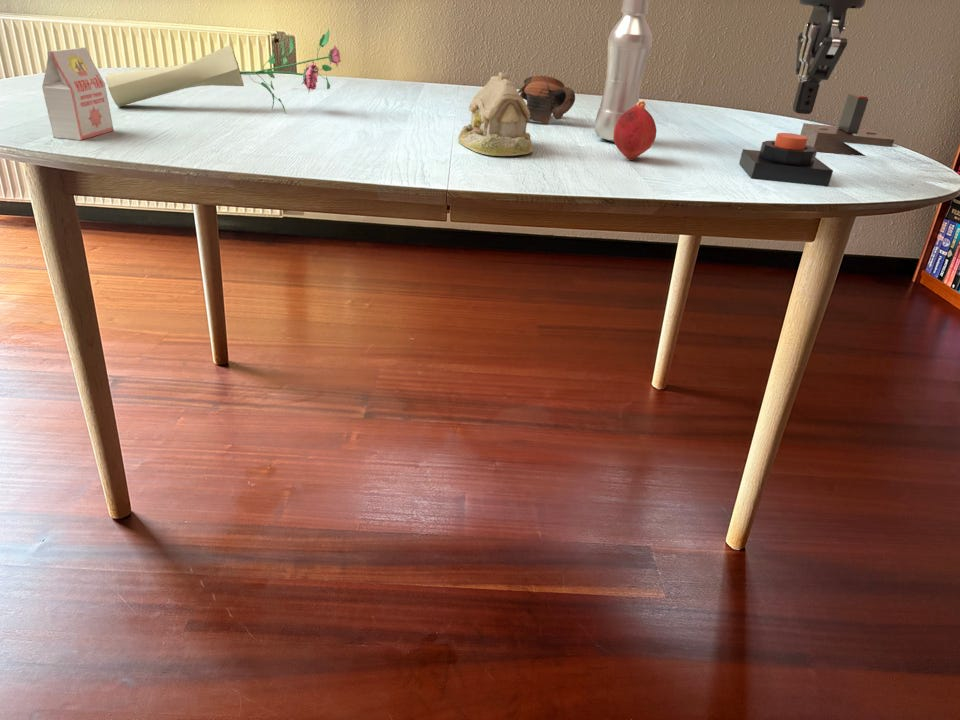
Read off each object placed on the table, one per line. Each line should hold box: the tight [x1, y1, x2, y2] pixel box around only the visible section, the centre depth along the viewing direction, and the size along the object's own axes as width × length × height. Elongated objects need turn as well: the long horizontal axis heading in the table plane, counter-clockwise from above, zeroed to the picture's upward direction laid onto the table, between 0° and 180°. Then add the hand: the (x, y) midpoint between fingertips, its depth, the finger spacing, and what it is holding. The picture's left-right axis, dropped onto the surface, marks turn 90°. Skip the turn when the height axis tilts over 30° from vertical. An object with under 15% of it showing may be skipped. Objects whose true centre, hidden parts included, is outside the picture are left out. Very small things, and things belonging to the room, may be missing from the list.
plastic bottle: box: [594, 0, 654, 143], centre depth 104 cm, size 6×7×20 cm
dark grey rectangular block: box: [837, 93, 869, 134], centre depth 114 cm, size 5×2×6 cm, turn 172°
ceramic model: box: [457, 71, 534, 157], centre depth 97 cm, size 14×11×10 cm
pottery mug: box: [517, 75, 576, 125], centre depth 120 cm, size 12×10×8 cm
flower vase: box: [104, 28, 342, 115], centre depth 108 cm, size 12×12×35 cm
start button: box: [774, 132, 808, 150], centre depth 93 cm, size 4×4×2 cm
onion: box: [613, 100, 657, 161], centre depth 95 cm, size 6×6×8 cm
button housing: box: [738, 140, 834, 188], centre depth 94 cm, size 10×9×4 cm
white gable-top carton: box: [41, 47, 114, 141], centre depth 86 cm, size 4×7×10 cm, turn 172°
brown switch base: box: [799, 122, 895, 157], centre depth 116 cm, size 12×9×3 cm
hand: (801, 112), depth 91 cm, fingers closed
